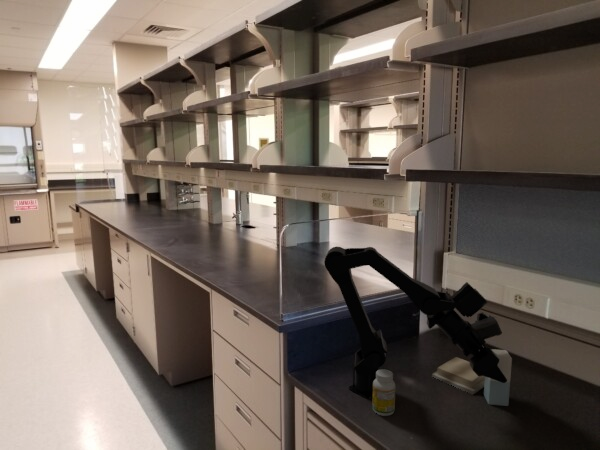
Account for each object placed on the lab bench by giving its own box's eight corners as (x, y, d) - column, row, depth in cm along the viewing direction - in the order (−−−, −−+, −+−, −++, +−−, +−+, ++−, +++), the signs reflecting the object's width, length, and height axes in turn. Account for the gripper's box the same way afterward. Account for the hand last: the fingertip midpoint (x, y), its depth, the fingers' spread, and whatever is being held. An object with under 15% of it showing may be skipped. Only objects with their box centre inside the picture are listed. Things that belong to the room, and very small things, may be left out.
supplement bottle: (392, 418, 101) (393, 380, 99) (369, 413, 103) (370, 376, 101) (396, 406, 106) (397, 370, 104) (374, 402, 108) (375, 366, 106)
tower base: (431, 377, 120) (432, 367, 120) (454, 364, 128) (454, 354, 127) (472, 394, 111) (473, 384, 111) (494, 379, 119) (494, 369, 118)
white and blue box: (488, 404, 107) (491, 356, 105) (483, 394, 111) (486, 348, 109) (508, 406, 106) (511, 358, 104) (502, 396, 111) (505, 350, 109)
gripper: (491, 321, 97) (540, 370, 97) (472, 295, 115) (513, 337, 115) (453, 352, 99) (501, 400, 99) (440, 322, 117) (480, 363, 117)
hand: (499, 372), depth 108 cm, fingers open, 9 cm apart
